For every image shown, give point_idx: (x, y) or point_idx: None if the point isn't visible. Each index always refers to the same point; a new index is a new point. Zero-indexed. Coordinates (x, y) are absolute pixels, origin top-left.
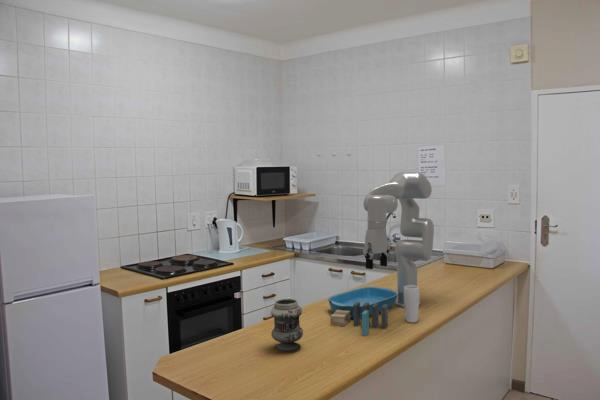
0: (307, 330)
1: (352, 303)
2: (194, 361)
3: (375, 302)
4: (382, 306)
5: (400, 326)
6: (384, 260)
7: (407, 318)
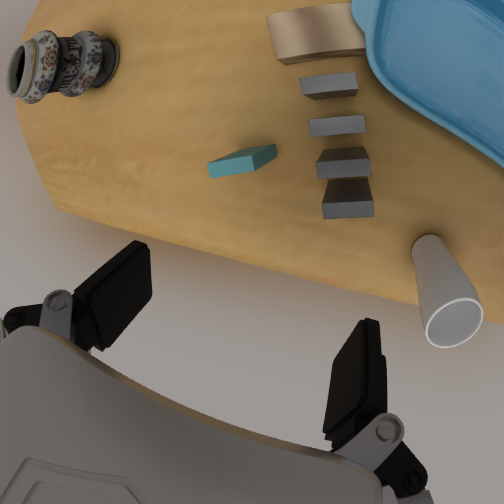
0: (199, 6)
1: (502, 34)
2: (40, 26)
3: None
4: (335, 204)
5: (370, 229)
6: (333, 397)
7: (416, 246)
